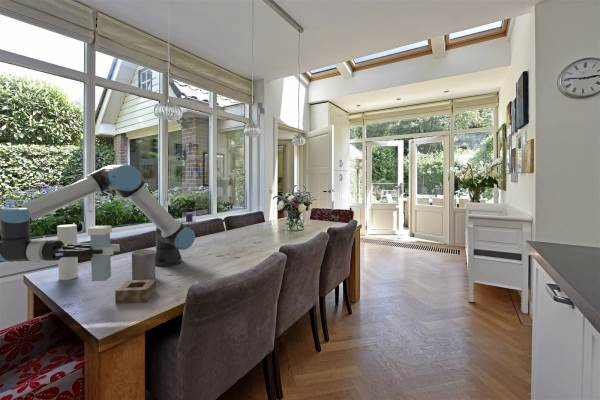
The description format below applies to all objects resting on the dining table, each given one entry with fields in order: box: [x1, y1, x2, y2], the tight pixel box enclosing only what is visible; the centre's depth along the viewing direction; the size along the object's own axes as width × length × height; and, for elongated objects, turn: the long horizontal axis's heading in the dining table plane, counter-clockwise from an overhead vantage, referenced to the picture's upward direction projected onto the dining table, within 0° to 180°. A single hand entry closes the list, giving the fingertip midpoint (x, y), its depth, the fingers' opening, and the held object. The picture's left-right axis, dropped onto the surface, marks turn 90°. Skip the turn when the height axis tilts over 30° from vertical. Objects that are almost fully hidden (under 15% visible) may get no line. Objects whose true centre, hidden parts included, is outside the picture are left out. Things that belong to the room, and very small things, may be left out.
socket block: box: [114, 279, 157, 305], centre depth 113 cm, size 11×11×6 cm
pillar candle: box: [131, 249, 156, 280], centre depth 134 cm, size 10×10×15 cm
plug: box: [87, 225, 113, 282], centre depth 109 cm, size 6×6×20 cm
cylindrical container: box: [56, 224, 79, 281], centre depth 135 cm, size 7×7×25 cm
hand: (116, 249), depth 110 cm, fingers closed on plug, 5 cm apart
